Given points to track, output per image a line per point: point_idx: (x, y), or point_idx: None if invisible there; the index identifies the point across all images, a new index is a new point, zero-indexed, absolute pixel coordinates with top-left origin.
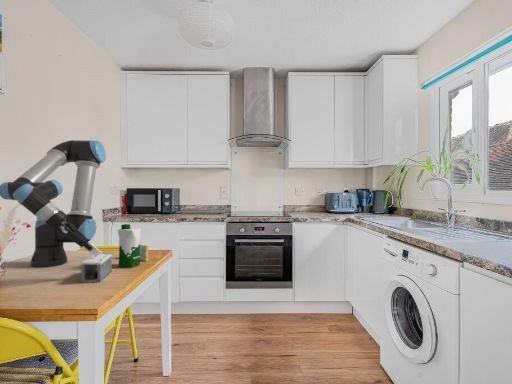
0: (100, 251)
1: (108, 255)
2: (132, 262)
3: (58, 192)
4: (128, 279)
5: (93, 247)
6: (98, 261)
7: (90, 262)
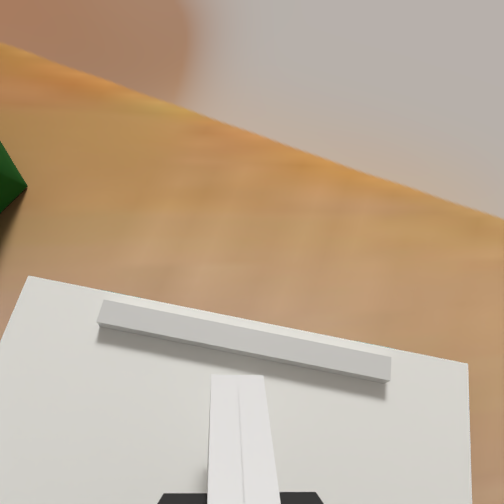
0: (227, 380)
1: (127, 307)
2: (6, 156)
3: None
4: (369, 213)
5: (277, 485)
6: (420, 393)
7: (469, 480)
